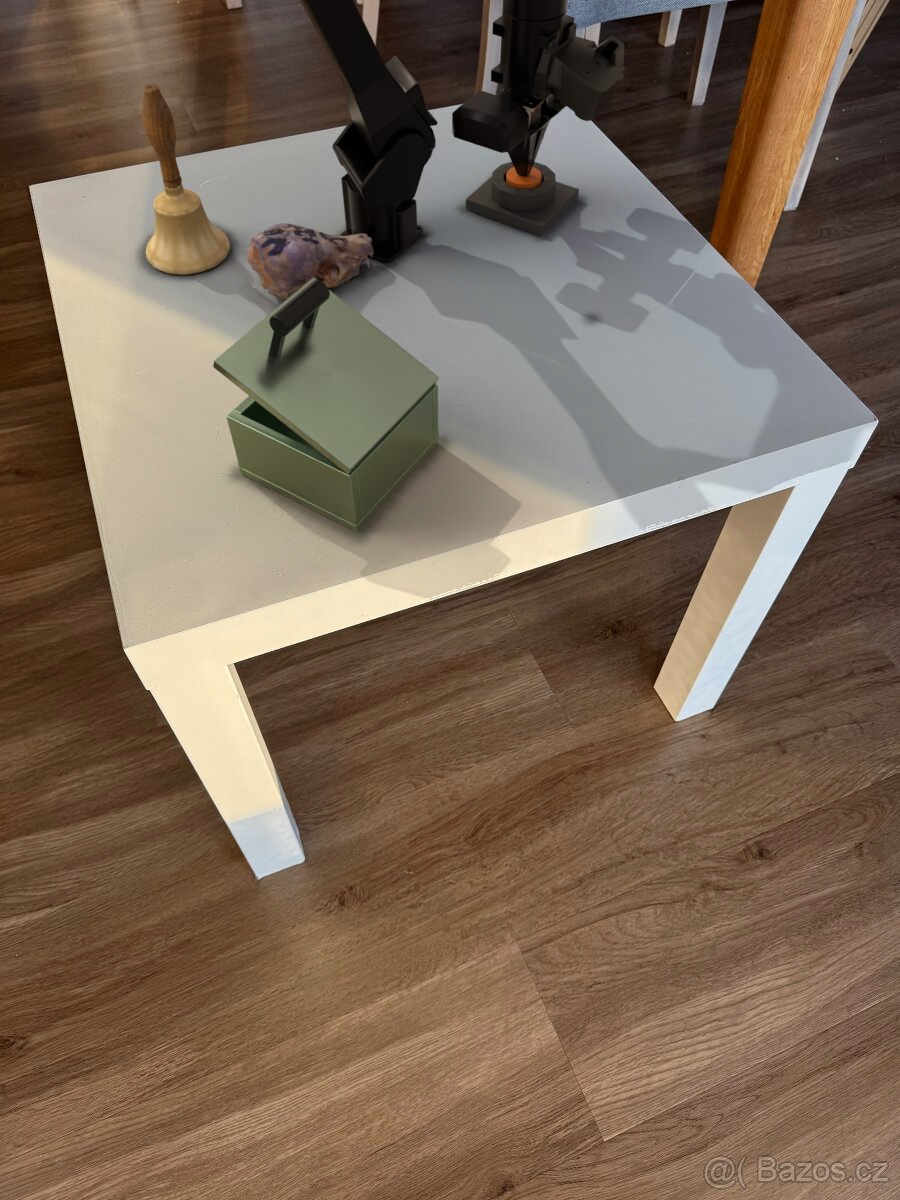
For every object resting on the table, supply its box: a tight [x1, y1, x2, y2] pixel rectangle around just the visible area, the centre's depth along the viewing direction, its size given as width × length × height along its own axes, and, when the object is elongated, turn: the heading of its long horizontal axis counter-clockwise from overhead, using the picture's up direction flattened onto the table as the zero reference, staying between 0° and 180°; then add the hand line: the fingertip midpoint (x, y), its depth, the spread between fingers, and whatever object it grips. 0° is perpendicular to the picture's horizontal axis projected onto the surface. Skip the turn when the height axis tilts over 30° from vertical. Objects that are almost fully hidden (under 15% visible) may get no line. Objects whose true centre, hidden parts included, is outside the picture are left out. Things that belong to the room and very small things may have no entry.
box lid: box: [212, 277, 440, 474], centre depth 69 cm, size 12×12×5 cm
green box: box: [226, 383, 439, 533], centre depth 75 cm, size 12×12×6 cm
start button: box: [506, 167, 542, 189], centre depth 98 cm, size 4×4×2 cm
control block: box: [465, 161, 580, 237], centre depth 98 cm, size 9×8×3 cm
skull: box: [247, 222, 374, 300], centre depth 90 cm, size 12×8×6 cm, turn 105°
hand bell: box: [142, 83, 231, 276], centre depth 88 cm, size 8×8×16 cm
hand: (523, 174), depth 97 cm, fingers closed, pressing on start button
